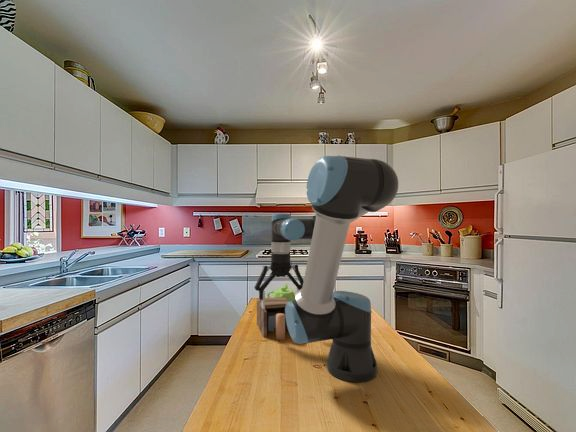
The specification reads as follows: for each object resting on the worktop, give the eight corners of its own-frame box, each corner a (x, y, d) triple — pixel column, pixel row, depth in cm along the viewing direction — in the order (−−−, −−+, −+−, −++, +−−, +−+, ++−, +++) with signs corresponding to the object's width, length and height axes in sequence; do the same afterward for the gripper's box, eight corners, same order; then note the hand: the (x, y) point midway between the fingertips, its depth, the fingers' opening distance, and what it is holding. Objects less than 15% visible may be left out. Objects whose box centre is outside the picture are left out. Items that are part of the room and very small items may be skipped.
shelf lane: (294, 334, 116) (294, 306, 117) (263, 337, 113) (263, 308, 113) (283, 321, 131) (284, 296, 131) (256, 324, 127) (257, 298, 128)
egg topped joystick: (289, 338, 112) (289, 315, 112) (274, 340, 110) (274, 316, 110) (278, 324, 127) (278, 304, 127) (265, 326, 125) (265, 305, 125)
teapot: (262, 310, 148) (262, 285, 148) (286, 306, 155) (286, 282, 156) (278, 319, 134) (278, 292, 134) (303, 314, 142) (303, 288, 142)
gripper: (307, 250, 120) (306, 301, 120) (247, 252, 113) (247, 306, 113) (314, 252, 113) (313, 307, 113) (250, 254, 106) (250, 312, 106)
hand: (280, 306), depth 113 cm, fingers open, 13 cm apart
